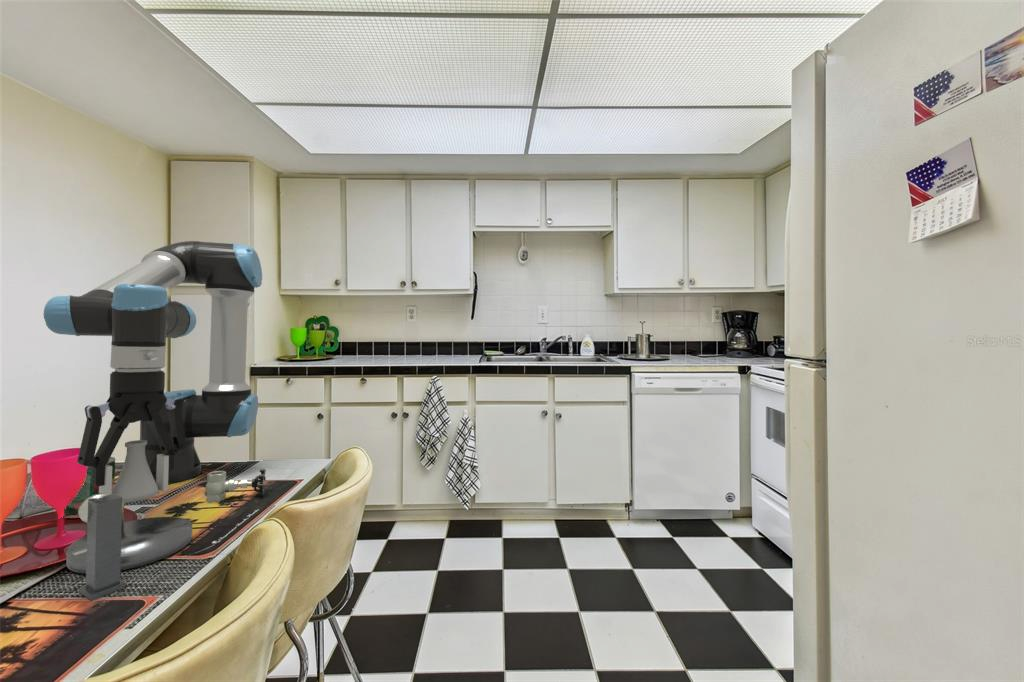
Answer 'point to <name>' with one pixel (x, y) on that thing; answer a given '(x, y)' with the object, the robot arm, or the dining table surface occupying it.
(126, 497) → the flask
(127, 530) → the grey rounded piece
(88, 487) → the canned tomato
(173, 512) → the dining table surface
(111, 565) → the post
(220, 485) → the valve
